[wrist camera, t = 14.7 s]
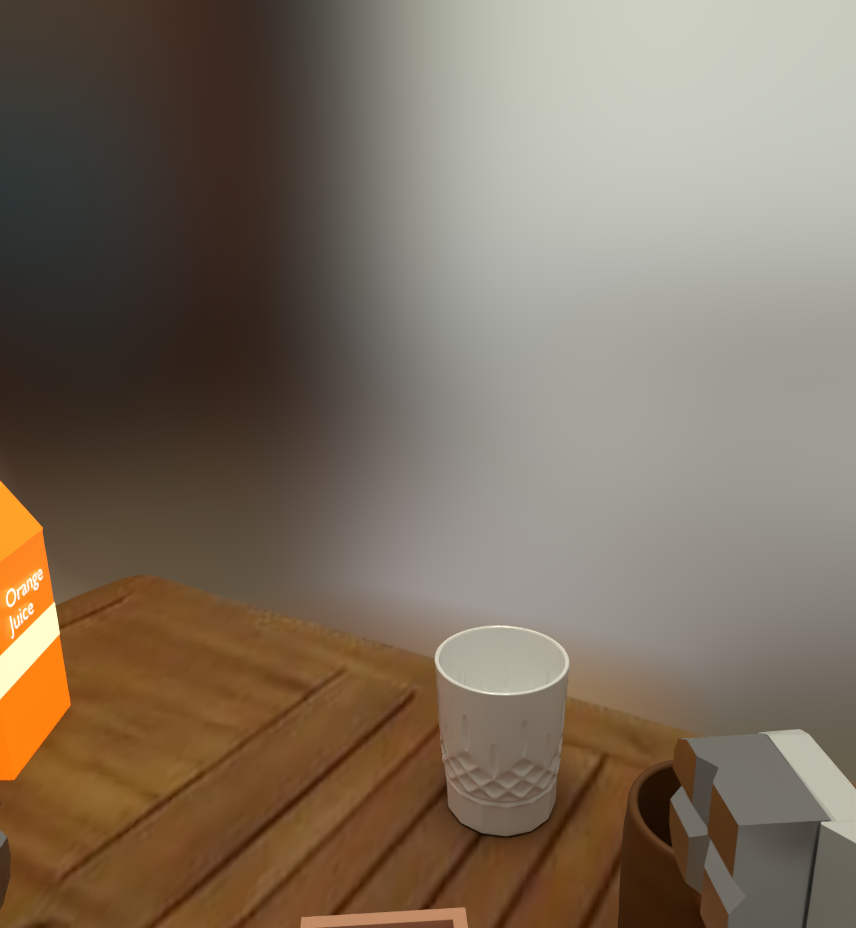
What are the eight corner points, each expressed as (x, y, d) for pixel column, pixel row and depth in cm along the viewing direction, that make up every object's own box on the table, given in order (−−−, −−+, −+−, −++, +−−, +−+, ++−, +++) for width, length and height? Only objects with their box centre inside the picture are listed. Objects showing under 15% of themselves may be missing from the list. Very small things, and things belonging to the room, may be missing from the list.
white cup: (499, 744, 56) (500, 613, 53) (590, 802, 50) (597, 659, 47) (411, 795, 51) (407, 654, 48) (501, 867, 45) (502, 711, 43)
